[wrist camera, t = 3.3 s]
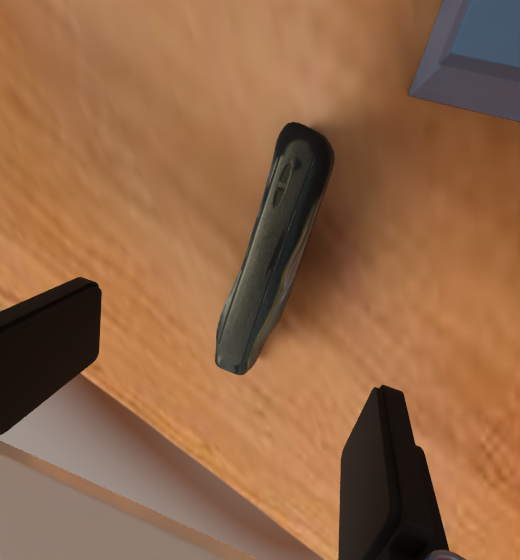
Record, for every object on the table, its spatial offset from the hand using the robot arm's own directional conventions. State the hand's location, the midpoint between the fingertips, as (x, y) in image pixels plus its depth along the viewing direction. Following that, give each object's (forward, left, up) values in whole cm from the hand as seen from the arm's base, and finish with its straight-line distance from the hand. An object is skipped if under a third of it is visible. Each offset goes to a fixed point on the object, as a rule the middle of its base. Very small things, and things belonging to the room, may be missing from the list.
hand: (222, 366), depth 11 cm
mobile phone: (0, 0, -11) cm, 11 cm away
